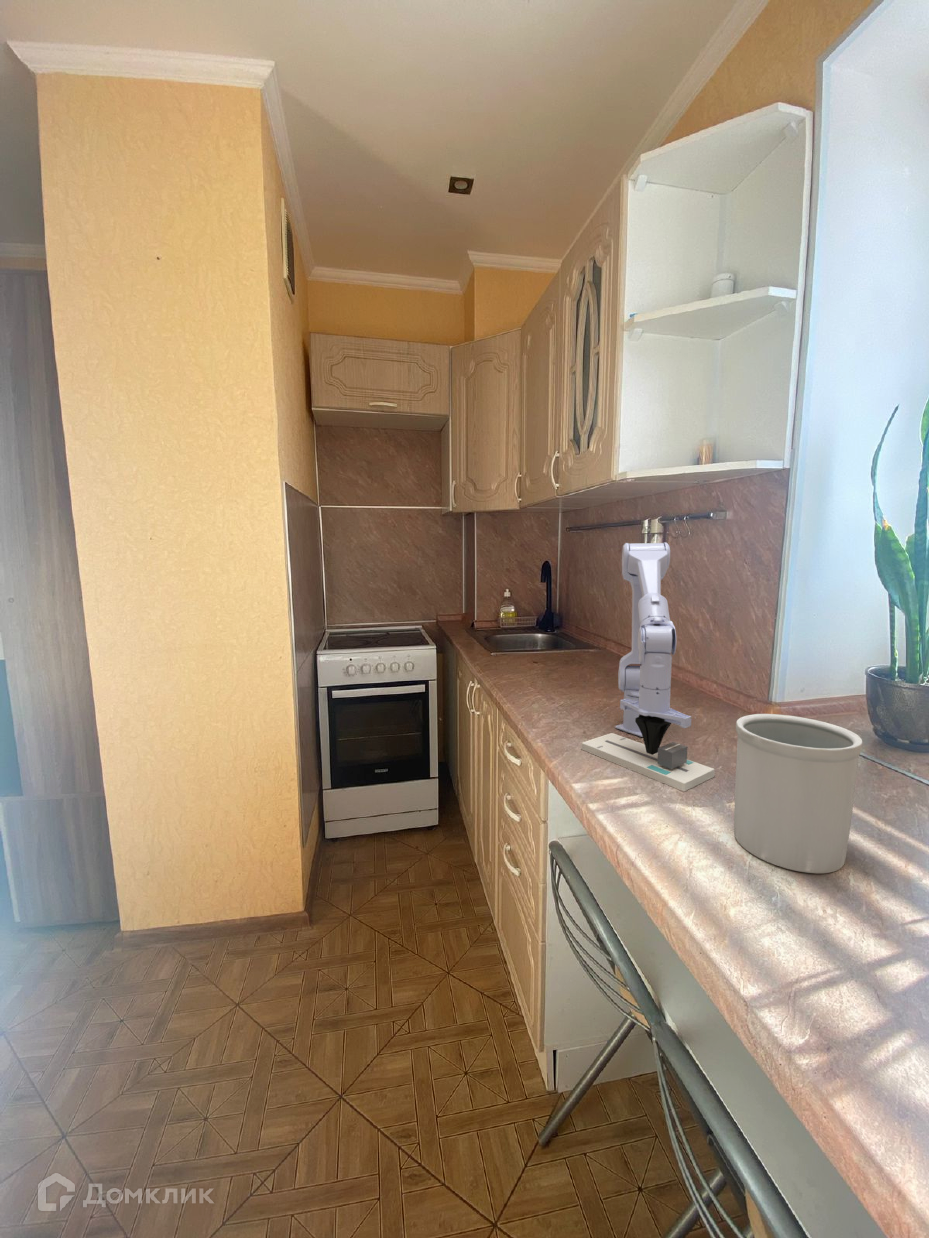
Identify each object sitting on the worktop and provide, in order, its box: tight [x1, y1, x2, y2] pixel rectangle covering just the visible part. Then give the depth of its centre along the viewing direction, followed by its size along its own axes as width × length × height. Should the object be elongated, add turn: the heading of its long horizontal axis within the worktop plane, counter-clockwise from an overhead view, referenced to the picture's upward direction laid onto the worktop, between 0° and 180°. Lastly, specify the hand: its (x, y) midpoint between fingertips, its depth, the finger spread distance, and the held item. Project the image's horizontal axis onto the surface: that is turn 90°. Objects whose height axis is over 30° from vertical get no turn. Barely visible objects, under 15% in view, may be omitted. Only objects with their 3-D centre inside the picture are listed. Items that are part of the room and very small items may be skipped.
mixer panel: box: [580, 732, 716, 792], centre depth 103 cm, size 10×24×2 cm, turn 35°
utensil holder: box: [733, 713, 863, 874], centre depth 73 cm, size 15×15×18 cm
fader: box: [657, 741, 689, 769], centre depth 97 cm, size 5×3×3 cm, turn 125°
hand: (652, 752), depth 101 cm, fingers closed
